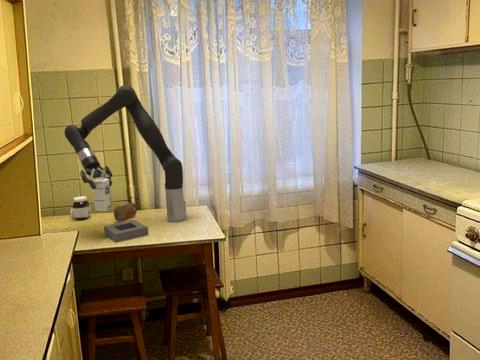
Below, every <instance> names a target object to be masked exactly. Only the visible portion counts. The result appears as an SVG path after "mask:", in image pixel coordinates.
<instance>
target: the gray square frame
mask: <svg viewBox="0 0 480 360" xmlns="http://www.w3.org/2000/svg"><path fill="white" fill-rule="evenodd" d="M103 234H104V236H106V237H108V239H109V238H110V239H111V240H112V241H113V242H115V243H120V242H124V241H129V240H132V239H137V238H140V237H141V238H142V237H145V236H149V229H148V226H147V225H145V224H143V223H141V222H139V221H137V220H136V219H132V220H131V219H130V220H126V221H123V222H117V223H113V224H110V225H109V224H108V225H104V226H103Z"/></svg>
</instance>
